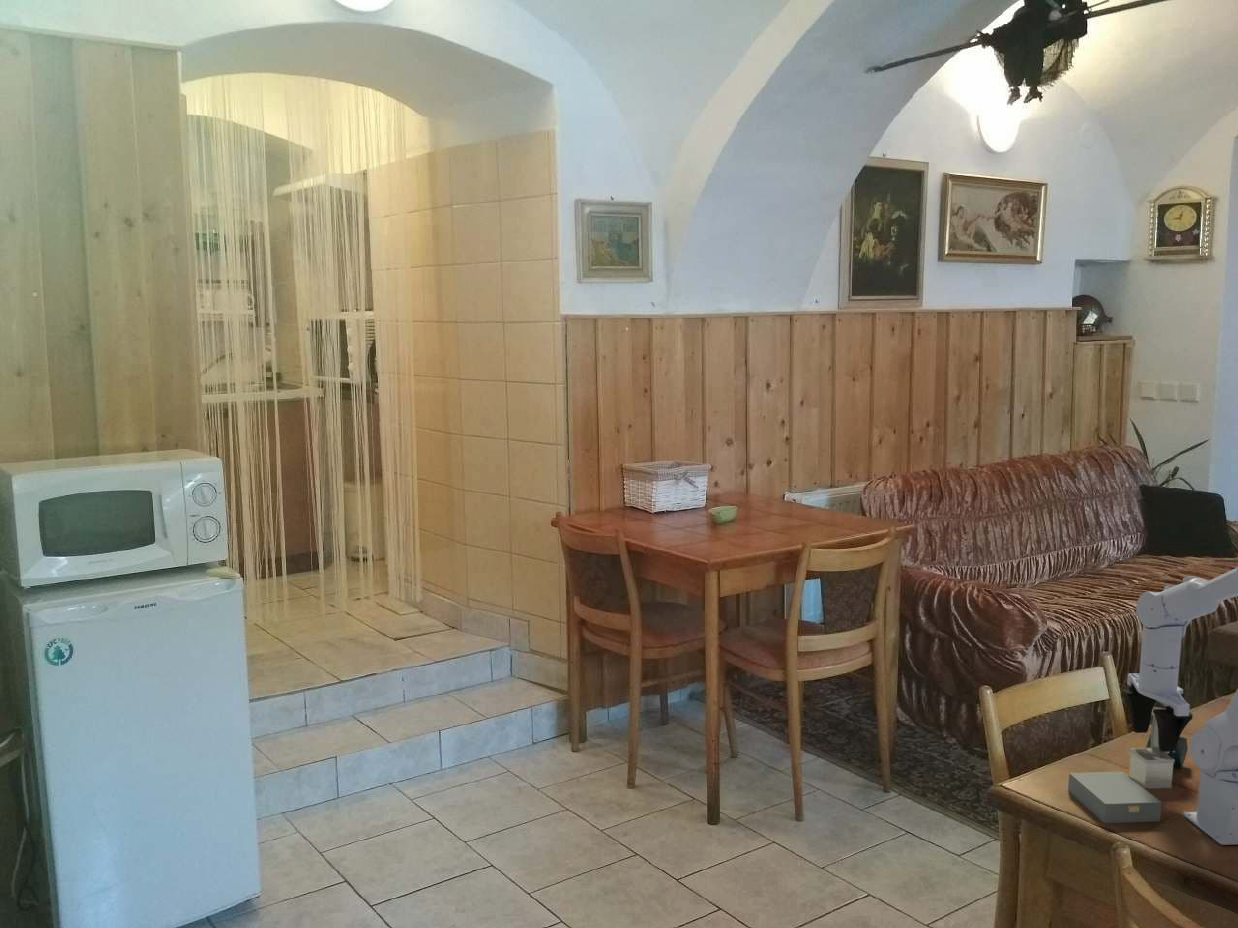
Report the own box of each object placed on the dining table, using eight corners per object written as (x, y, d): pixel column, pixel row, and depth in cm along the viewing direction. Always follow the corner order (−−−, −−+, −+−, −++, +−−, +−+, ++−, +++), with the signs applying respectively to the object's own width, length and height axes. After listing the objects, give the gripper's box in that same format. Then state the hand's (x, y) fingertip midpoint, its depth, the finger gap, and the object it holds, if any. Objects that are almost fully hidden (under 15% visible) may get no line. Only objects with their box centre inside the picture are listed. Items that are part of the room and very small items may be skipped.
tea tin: (1172, 788, 172) (1174, 759, 171) (1144, 788, 171) (1146, 760, 171) (1155, 775, 176) (1157, 747, 176) (1128, 776, 176) (1130, 748, 175)
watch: (1190, 739, 182) (1185, 701, 176) (1179, 777, 178) (1173, 739, 172) (1156, 731, 186) (1149, 693, 180) (1143, 767, 182) (1137, 730, 176)
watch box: (1160, 824, 160) (1162, 802, 160) (1104, 826, 159) (1106, 804, 159) (1120, 791, 171) (1121, 771, 171) (1067, 792, 171) (1069, 772, 170)
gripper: (1210, 677, 164) (1203, 758, 166) (1157, 648, 179) (1151, 723, 181) (1167, 678, 164) (1160, 759, 166) (1118, 649, 178) (1112, 724, 180)
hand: (1153, 741), depth 173 cm, fingers open, 7 cm apart
